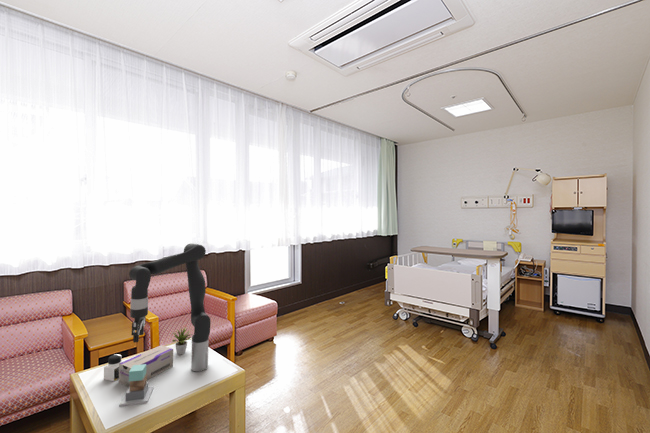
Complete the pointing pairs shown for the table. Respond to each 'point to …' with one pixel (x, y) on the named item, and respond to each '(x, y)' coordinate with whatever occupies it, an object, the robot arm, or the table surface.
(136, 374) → the teal block
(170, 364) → the surgical sutures box
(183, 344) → the house plant
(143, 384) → the walnut block
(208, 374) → the table surface
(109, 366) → the medicine bottle
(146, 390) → the plate
